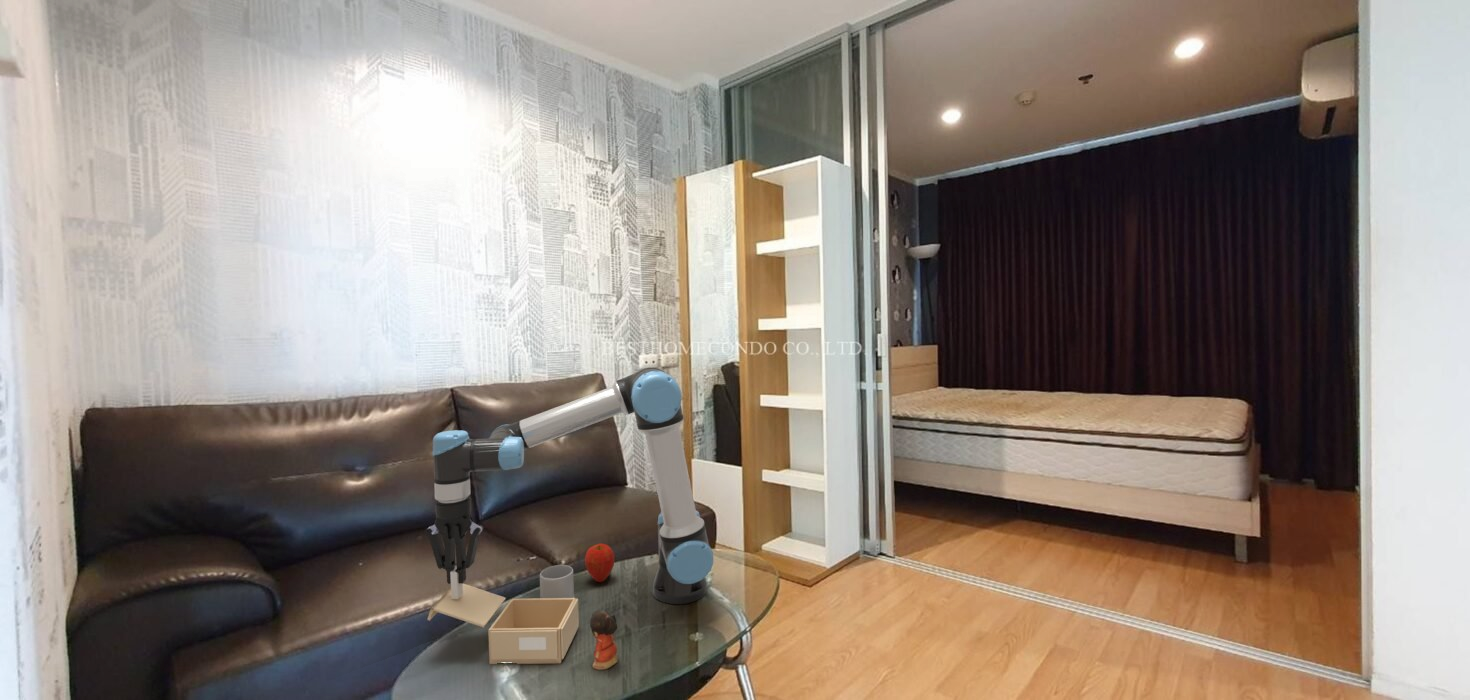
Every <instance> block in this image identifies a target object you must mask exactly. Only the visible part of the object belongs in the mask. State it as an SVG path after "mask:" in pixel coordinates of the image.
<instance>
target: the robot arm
mask: <svg viewBox="0 0 1470 700" xmlns="http://www.w3.org/2000/svg"><path fill="white" fill-rule="evenodd" d="M682 397H683V396H682V390H681V388H680V385H679V384H678V382H677V380H675V378H673V377H672V376H671V375H670V374H668V373H667V372H665V371H664V370H662V369H661V368H657V367H645V368H642V369H641V370H638V371H635V372H634V373H632V374H630V375H629V374H628V376H626V377H623V378H620V379H617V380H615V381H614V383H613V385H612V386H609V387H607V388H605V389H602V390H599V391H596V392H594V393H591V394H589V395H586V396H583V397H580V398H578V399H575V400H572V401H569V402H567V403H564V404H562V405H561V404H560V405H559V406H556V407H552V408H551V409H547V410H546V411H542V412H541V413H537V414H534V415H532V416H529V417H527V418H523V419H521V420H519V421H516V422H514V423H510V424H507V423H506V424H502V425H500V426H498V427H496V428H495V429H494V430H493V431H492V432H491V434H490V436H489V437H488V438H470V436H469V432H468V431H466V430H458V429H455V430H446V431H441V432H438V433H436V434H435V435H434V436H433V439H432V453H431V455H432V461H433V463H432V464H433V477H434V478H433V480H434V481H433V482H434V500H436V501H435V502H434V508H435V511H434V512H435V517H436V518H435V521H434V524H433V525H430V526H429V527H428V528H426V529H425V530H424V534H425V535H426V536H427V538H428V540H429V542H430V546H431V550H432V552H433V556H434V558H435V559H434V560H435V563H436V566H437V569H440V570H442V569H443V570H444V571H446V583H447V585H450V588H451V599H458V598H459V597H460V596H461V595H462V594H463V583H464V584H465V582H466V580H467V569H469V568H470V567H471V566H472V565H473V564H474V563H475V559H476V555H477V549H478V545H479V540H480V535H481V533H482V532H483V530H484V528H485V527H484V525H483V524H480V525H479V524H476V522H474V518H473V516H472V498H471V496H470V495H471V494H472V493H471V491H472V490H471V479H470V478H471V474H470V473H471V472H472V473H473V472H474V473H475V472H487V471H488V472H489V471H510V470H515V469H519V468H522V467H523V466H524V461H525V460H524V459H525V451H526V450H528V449H530V448H533V447H536V446H539V445H541V444H544V443H546V442H549V441H552V440H554V439H557V438H559V437H562V436H564V435H568V434H571V433H573V432H576V431H578V430H581V429H584V428H586V427H588V426H591V425H593V424H596V423H599V422H602V421H605V420H607V419H610V418H612V417H616V416H617V415H621V414H625V415H627V416H628V415H630V414H633V413H634V417H635V422H636V426H637V430H638V431H640V432H641V433H643V434H644V435H645V440H646V444H647V448H648V454H649V458H650V463H651V467H652V468H651V469H652V472H653V473H652V474H653V477H654V482H655V483H654V484H655V486H656V487H655V488H656V492H657V497H658V502H659V507H660V513H659V514H658V518H657V519H658V520H657V534H658V535H657V536H658V539H657V540H658V566H657V571H656V573H655V577H654V580H653V584H652V594H653V596H654V598H655V599H656V600H658V601H660V602H661V603H665V604H672V605H684V604H690V603H693V602H696V601H698V600H700V599H701V598H703V597H704V596H705V595H706V594H707V592H706V590H707V591H708V587H707V586H708V582H707V578H706V577H707V576H708V575H709V573H710V572H711V570H712V568H713V566H714V552H713V549H712V547H711V546H710V544H709V538H708V535H707V534H708V533H707V530H706V525H705V520H704V519H703V518H702V517H701V516H700V512H699V511H698V510H696V504H695V500H694V494H693V491H692V485H691V479H690V475H689V471H688V465H687V460H686V455H685V449H684V446H683V439H682V434H681V430H680V426H681V425H682V423H683V422H684V415H683V414H684V413H683V409H682V401H683V399H682ZM469 531H470V537H469V541H468V545H467V547H466V538H467V533H468V532H469ZM441 535H442V537H441ZM705 593H706V594H705Z"/></svg>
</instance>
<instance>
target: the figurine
mask: <svg viewBox="0 0 1470 700" xmlns="http://www.w3.org/2000/svg"><path fill="white" fill-rule="evenodd" d="M589 621H590V622H589V627H590V629H591V632H592V636H593V637H594V638H595V639H596V643H595V648H594V649H595V651H593V655H594V656H593V657H594V662H593V664H592V665H591V668H593V669H595V670H607V669H609V668H611V667H612V666H615V664H617V663H618V660H619V659H618V655H617V653H618V647H617V644H616V643H615V641H614V640H615V639H614V638H615V637H614V636H613V634H614V633H615V632H616V631H617V630H618V624H617V618H616V615H611V614H610V613H608V611H605V610H596V611H594V612H593V613H592V616H591V618H590V620H589Z"/></svg>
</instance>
